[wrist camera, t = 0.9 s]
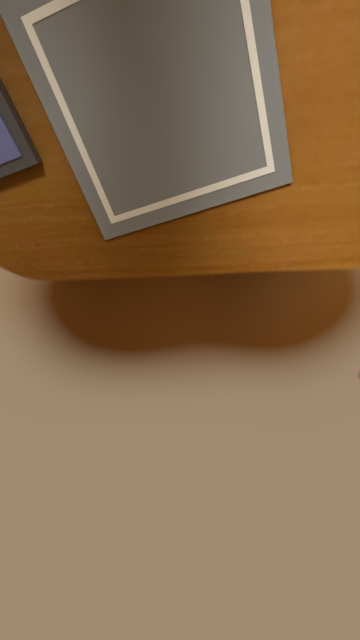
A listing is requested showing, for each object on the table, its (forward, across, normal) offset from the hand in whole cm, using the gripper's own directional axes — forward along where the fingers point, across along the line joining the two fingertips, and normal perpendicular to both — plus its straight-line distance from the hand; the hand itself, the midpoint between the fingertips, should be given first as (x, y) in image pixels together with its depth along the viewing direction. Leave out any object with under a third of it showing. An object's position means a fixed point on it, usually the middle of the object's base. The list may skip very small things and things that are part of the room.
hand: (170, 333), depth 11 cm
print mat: (+24, -3, +6) cm, 25 cm away
